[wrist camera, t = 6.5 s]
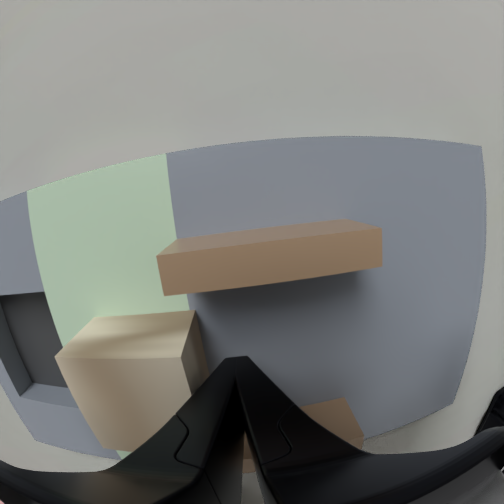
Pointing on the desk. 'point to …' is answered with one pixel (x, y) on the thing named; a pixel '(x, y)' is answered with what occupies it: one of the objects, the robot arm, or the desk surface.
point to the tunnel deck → (258, 273)
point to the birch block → (133, 373)
